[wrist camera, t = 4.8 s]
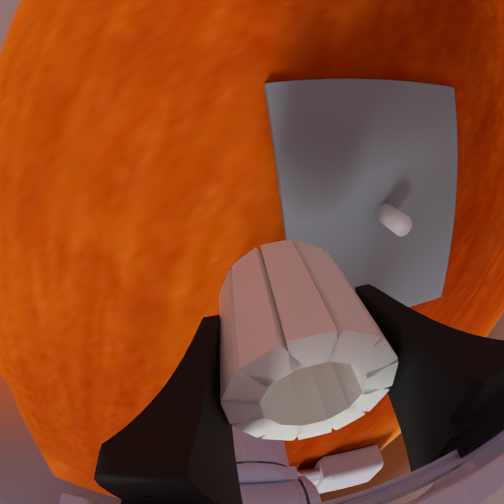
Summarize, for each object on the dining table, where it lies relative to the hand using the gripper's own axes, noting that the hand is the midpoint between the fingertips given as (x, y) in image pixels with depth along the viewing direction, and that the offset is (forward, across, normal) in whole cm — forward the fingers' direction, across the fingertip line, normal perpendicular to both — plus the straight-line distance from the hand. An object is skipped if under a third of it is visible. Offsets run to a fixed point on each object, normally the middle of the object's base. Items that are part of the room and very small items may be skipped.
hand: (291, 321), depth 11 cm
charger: (+9, -5, +42) cm, 43 cm away
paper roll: (+2, 0, 0) cm, 2 cm away
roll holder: (+9, -8, 0) cm, 12 cm away
